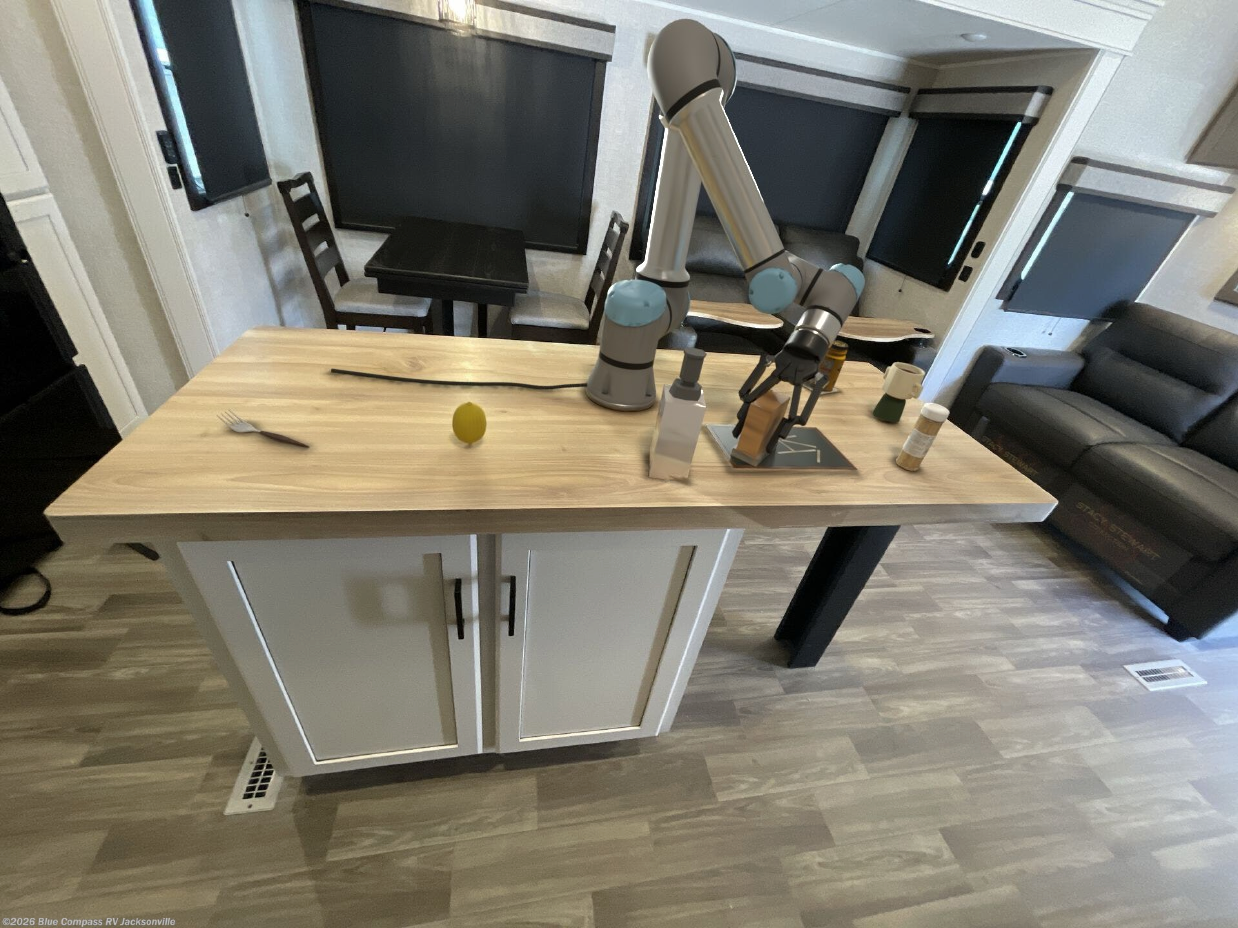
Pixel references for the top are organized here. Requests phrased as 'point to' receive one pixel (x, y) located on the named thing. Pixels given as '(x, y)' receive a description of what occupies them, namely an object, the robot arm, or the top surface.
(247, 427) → the fork
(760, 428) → the eraser
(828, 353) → the condiment
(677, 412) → the soap dispenser
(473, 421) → the lemon
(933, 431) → the sprinkles bottle
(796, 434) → the chalkboard
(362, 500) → the top surface
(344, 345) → the top surface
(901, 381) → the cream and green goblet
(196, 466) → the top surface
